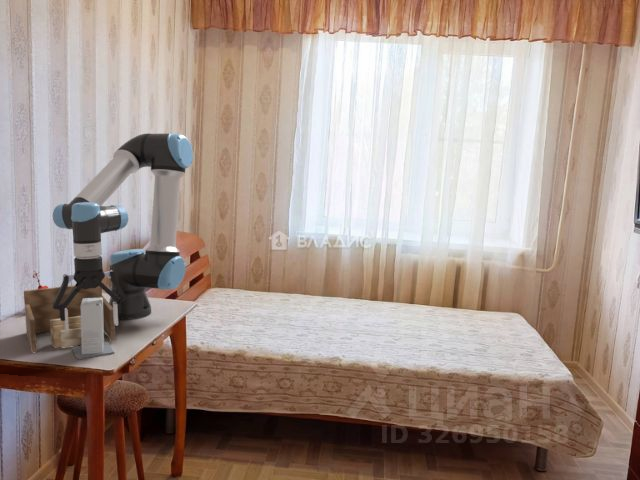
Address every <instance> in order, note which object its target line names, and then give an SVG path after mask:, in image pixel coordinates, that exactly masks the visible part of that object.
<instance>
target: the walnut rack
mask: <svg viewBox="0 0 640 480" xmlns="http://www.w3.org/2000/svg"><path fill="white" fill-rule="evenodd" d="M75 285H76V284H74V285H68V286H67V288H66V291H65V293H64V295H63V297H62V299H61V301H60V304H61V303H62V302H63V300H64V299H65V298H66V296H67V295H68V294H69V293H70V291H71V290H72V289H73V288H74V286H75ZM60 287H61V286H57V287H48V288H45V289H38V288H36V289H28V290H26V289H25V290H23V300H24V314H25V315H24V316H25V317H24V318H25V326H26V327H25V329H26V330H25V331H26V335H27V339H28V343H29V346H30V347H29V348H30V349H31V350H30V351H31V353H33V352H35V353H37V352H38V351H37V337H36V334H38V333H43V332H51V330H50V320H51V319H59V318H60V310H59V309H54V308H53V306H52V304H53V302H54V300H55V297H56V295H57V293H58V291H59V289H60ZM102 290H103V289H102V288H101V287H100V286H98V287H96V288H89V289H83V288H82V289H81V290H80V291H79V292H78V293H77V294H76V295H75V297H74V298H73V299H72V300H71V302H70V303H69V304H68V305H67V307H66V308H67V310H68V317H75V316H81V308H80V306H81V302H82V299H83V298H103V321H104V333H105V334H106V335H107V336H108V338H109V340H110V341H112V342H113V341H116V327H115V326H116V325H115V324H114V317H113V308H112V306H111V305H110V304H109V301H108V300H107V299H106V298H105V297H104V296H103V291H102Z"/></svg>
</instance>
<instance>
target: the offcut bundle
mask: <svg viewBox="0 0 640 480" xmlns="http://www.w3.org/2000/svg"><path fill="white" fill-rule="evenodd" d="M68 324H69V332H67V333H66V331H65V323H64V321H61V319H60V318H59V319H51V320H50V330H51V331H50V342H51V343H50V344H51V347H56V348H61V349H64V348H63V347H67V348H71V347H70V346H74V347H78V345H80V346H82V343H81V316H75V317H68ZM60 346H61V347H60Z"/></svg>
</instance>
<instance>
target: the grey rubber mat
mask: <svg viewBox="0 0 640 480" xmlns="http://www.w3.org/2000/svg"><path fill="white" fill-rule="evenodd" d="M72 351H73V353H74V355H75V357H76V359H77V360H83V359H89V358H95V357H101V356H108V355H114V354H115V351H114V349H113V348H112V346H111V344H110V343H109V342H108V341H104V348H103V353H95V354H82V345H80V346H74V347H72Z"/></svg>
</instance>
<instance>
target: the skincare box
mask: <svg viewBox="0 0 640 480" xmlns="http://www.w3.org/2000/svg"><path fill="white" fill-rule="evenodd" d="M80 308H81V343H82V345H81V346H82V354H95V353H103V348H104V342H105V331H104V321H103V298H83V299H82V302H81V306H80Z"/></svg>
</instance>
